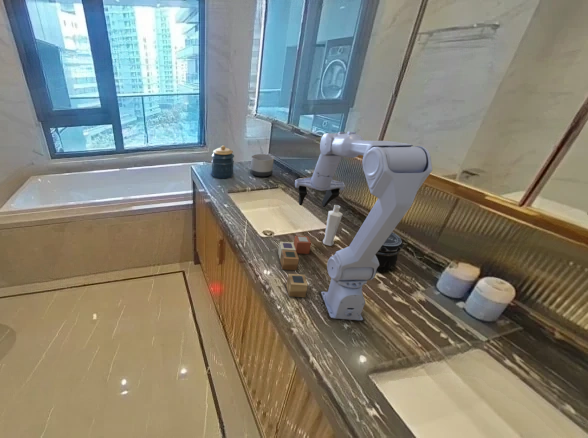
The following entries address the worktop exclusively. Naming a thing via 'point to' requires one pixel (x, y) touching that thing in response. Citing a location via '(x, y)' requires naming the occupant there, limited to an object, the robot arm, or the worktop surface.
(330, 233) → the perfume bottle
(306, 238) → the terracotta block
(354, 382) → the worktop surface
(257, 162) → the planter
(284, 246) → the cream block
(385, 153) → the robot arm
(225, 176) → the canister
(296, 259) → the beech block
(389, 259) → the container
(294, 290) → the maple block
